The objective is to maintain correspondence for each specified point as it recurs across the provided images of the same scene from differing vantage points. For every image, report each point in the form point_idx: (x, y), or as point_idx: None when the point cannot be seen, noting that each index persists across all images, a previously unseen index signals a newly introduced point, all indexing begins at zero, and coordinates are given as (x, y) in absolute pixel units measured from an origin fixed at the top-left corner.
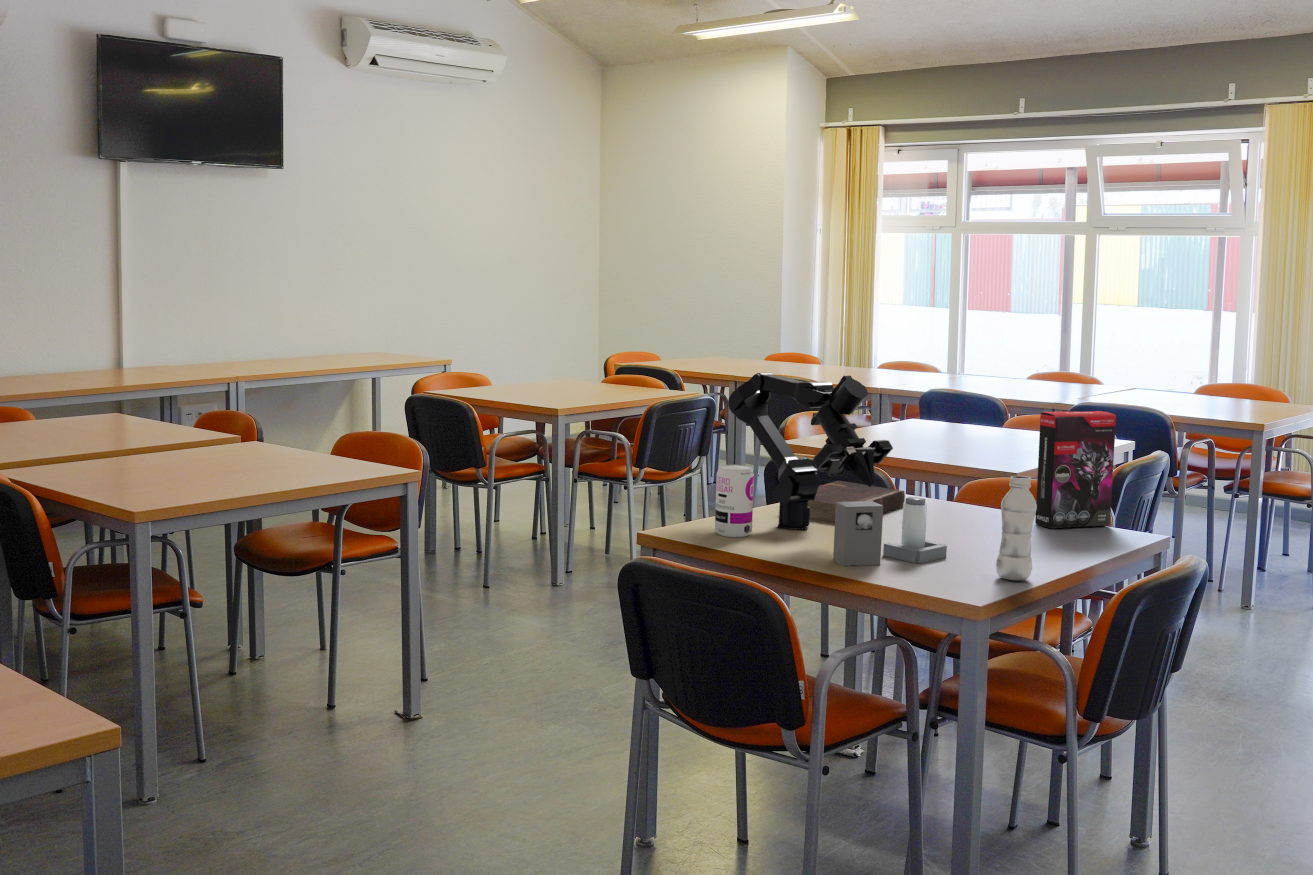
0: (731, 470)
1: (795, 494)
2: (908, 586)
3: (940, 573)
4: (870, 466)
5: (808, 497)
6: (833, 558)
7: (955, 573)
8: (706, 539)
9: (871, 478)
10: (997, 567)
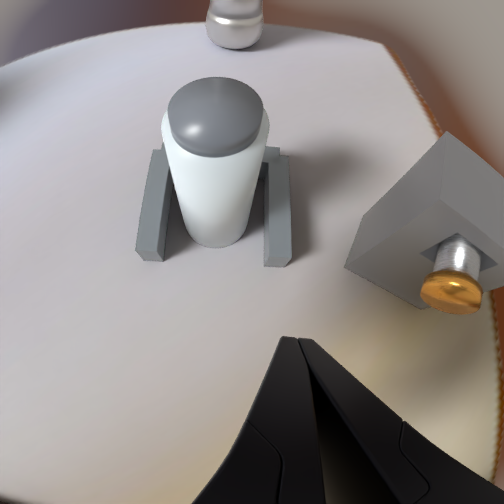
0: None
1: None
2: (411, 116)
3: (305, 108)
4: (305, 444)
5: None
6: (423, 307)
7: (279, 93)
8: None
9: (313, 361)
10: (258, 35)
